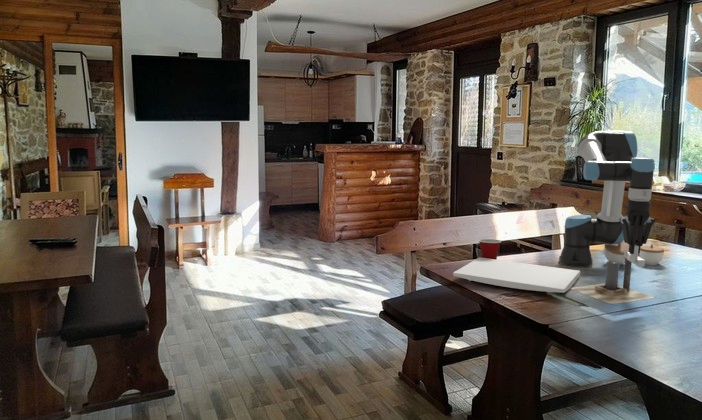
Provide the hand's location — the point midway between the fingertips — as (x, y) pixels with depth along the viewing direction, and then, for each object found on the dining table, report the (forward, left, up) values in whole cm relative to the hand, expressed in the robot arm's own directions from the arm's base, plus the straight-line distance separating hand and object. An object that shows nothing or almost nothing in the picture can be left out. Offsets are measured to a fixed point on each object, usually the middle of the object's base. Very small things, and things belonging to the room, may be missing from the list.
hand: (633, 262), depth 209 cm
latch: (-3, +4, -1) cm, 5 cm away
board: (-39, -22, -16) cm, 47 cm away
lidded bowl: (-47, +43, -15) cm, 65 cm away
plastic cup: (-68, -15, -16) cm, 71 cm away
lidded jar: (-40, +58, -16) cm, 72 cm away
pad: (-10, -18, -16) cm, 26 cm away
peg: (-8, -1, -14) cm, 16 cm away
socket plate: (-8, -1, -16) cm, 18 cm away
